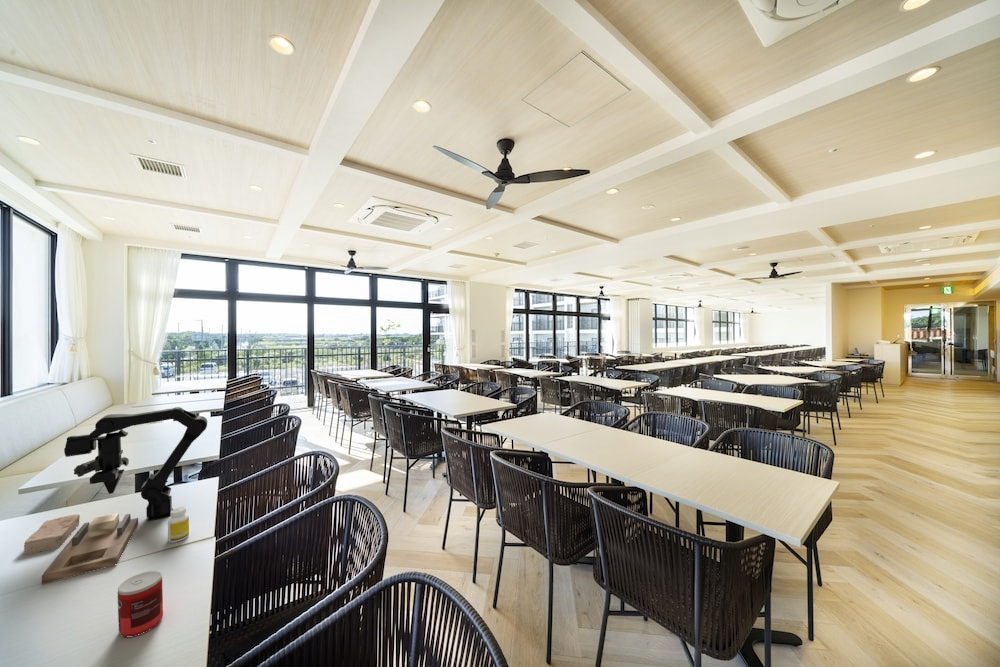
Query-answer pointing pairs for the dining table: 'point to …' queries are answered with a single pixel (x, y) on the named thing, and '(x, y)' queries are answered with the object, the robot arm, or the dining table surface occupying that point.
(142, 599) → the canned food
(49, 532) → the brick
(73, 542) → the lane board
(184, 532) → the supplement bottle
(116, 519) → the block
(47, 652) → the dining table surface
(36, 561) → the dining table surface
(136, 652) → the dining table surface
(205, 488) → the dining table surface
